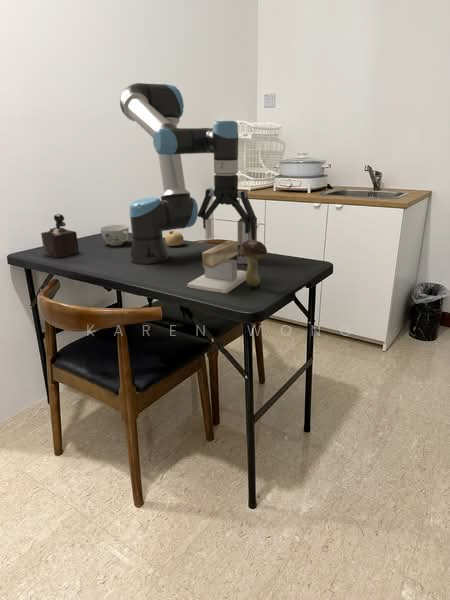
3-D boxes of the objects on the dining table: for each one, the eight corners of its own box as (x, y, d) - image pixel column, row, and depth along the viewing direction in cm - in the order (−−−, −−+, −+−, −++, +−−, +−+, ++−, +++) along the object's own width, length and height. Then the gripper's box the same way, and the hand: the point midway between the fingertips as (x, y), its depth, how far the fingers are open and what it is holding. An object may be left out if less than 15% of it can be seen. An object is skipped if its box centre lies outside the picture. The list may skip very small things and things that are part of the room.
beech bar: (202, 266, 130) (202, 252, 128) (228, 253, 145) (228, 240, 143) (212, 268, 129) (212, 253, 127) (237, 254, 144) (237, 241, 142)
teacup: (96, 245, 190) (94, 227, 187) (118, 240, 199) (116, 223, 196) (117, 249, 181) (115, 231, 179) (139, 244, 191) (137, 226, 188)
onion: (171, 243, 192) (170, 227, 189) (186, 244, 189) (186, 228, 187) (162, 247, 185) (161, 231, 182) (179, 248, 182) (178, 232, 180)
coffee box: (254, 264, 157) (254, 221, 151) (237, 263, 158) (236, 221, 152) (257, 258, 165) (257, 217, 159) (241, 257, 166) (241, 216, 161)
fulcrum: (187, 287, 134) (186, 265, 131) (216, 270, 151) (216, 251, 148) (226, 293, 128) (225, 271, 125) (252, 275, 145) (252, 255, 142)
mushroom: (243, 282, 138) (243, 237, 132) (269, 284, 135) (270, 238, 130) (236, 292, 129) (235, 244, 124) (263, 294, 127) (264, 246, 121)
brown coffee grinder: (42, 255, 175) (34, 212, 169) (65, 249, 184) (59, 208, 177) (63, 260, 167) (56, 215, 160) (87, 254, 175) (81, 211, 168)
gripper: (185, 173, 133) (188, 239, 141) (258, 176, 123) (256, 247, 131) (197, 171, 140) (199, 234, 148) (267, 174, 129) (265, 241, 137)
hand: (226, 240), depth 139 cm, fingers open, 13 cm apart
